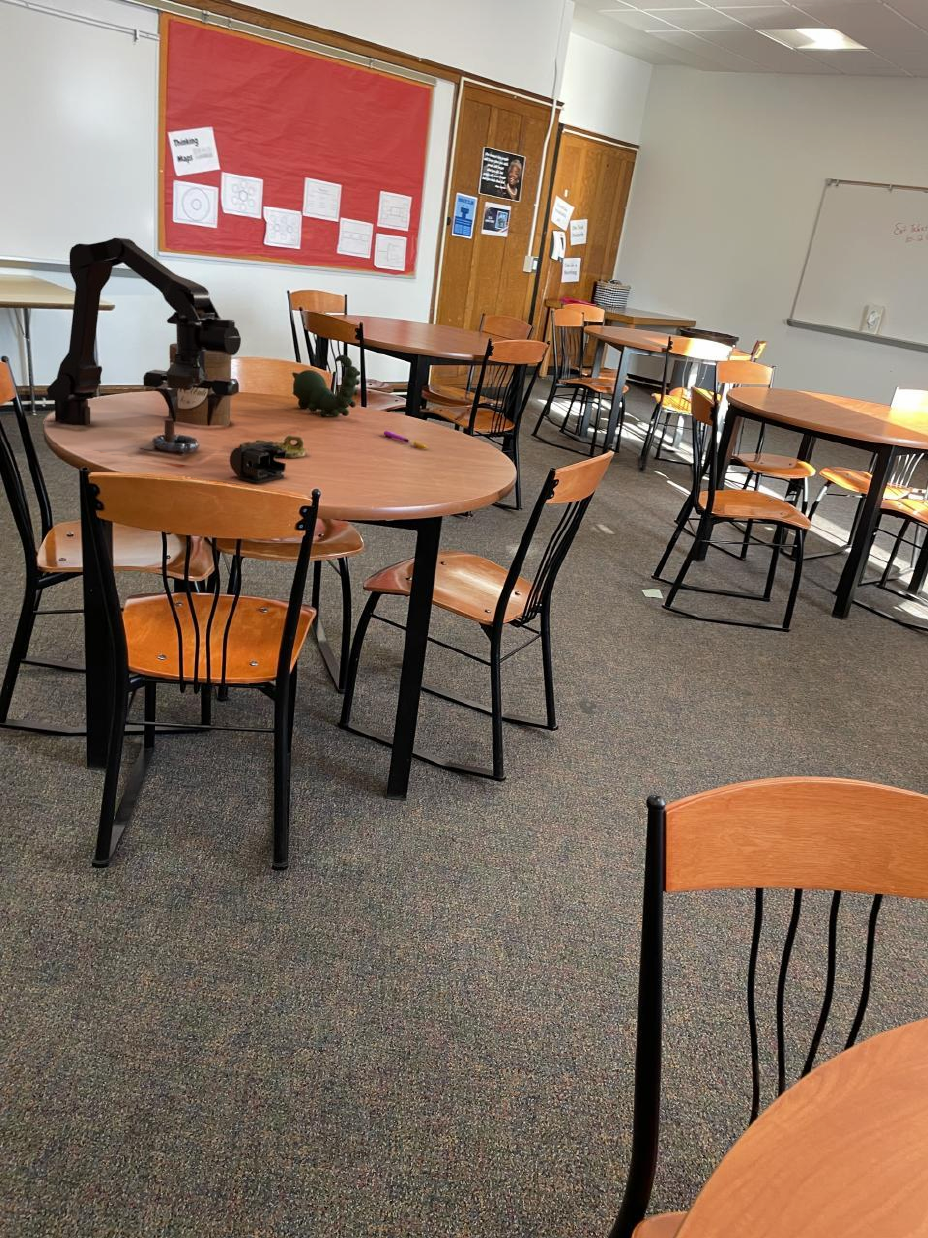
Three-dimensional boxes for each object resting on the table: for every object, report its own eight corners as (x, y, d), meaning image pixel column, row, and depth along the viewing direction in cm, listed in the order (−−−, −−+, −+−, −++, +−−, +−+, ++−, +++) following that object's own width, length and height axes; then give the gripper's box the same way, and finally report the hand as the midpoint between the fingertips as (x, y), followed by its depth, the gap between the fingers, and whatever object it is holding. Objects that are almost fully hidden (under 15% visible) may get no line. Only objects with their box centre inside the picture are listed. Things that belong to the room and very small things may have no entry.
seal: (239, 459, 202) (306, 463, 207) (240, 439, 200) (308, 444, 204) (238, 445, 210) (302, 449, 214) (239, 425, 208) (304, 430, 212)
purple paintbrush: (382, 434, 242) (425, 449, 233) (383, 430, 242) (426, 445, 233) (389, 436, 244) (431, 451, 235) (390, 431, 244) (432, 447, 235)
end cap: (259, 469, 193) (261, 438, 191) (286, 477, 191) (288, 445, 188) (228, 476, 185) (229, 444, 182) (255, 484, 182) (257, 452, 179)
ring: (145, 448, 191) (145, 439, 190) (162, 440, 199) (162, 431, 199) (189, 456, 190) (189, 446, 190) (204, 446, 199) (205, 438, 198)
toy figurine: (359, 427, 256) (300, 400, 268) (370, 360, 248) (309, 336, 260) (335, 429, 249) (276, 401, 261) (346, 360, 241) (284, 335, 253)
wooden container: (155, 417, 223) (156, 325, 215) (202, 413, 235) (204, 326, 227) (196, 431, 217) (199, 337, 208) (242, 426, 228) (246, 337, 220)
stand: (140, 453, 191) (140, 419, 188) (156, 444, 200) (157, 412, 197) (181, 460, 191) (182, 426, 188) (196, 451, 199) (197, 419, 197)
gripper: (131, 347, 179) (134, 425, 185) (222, 357, 179) (223, 435, 185) (152, 341, 190) (155, 416, 196) (239, 351, 189) (239, 425, 195)
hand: (192, 423), depth 193 cm, fingers open, 7 cm apart
